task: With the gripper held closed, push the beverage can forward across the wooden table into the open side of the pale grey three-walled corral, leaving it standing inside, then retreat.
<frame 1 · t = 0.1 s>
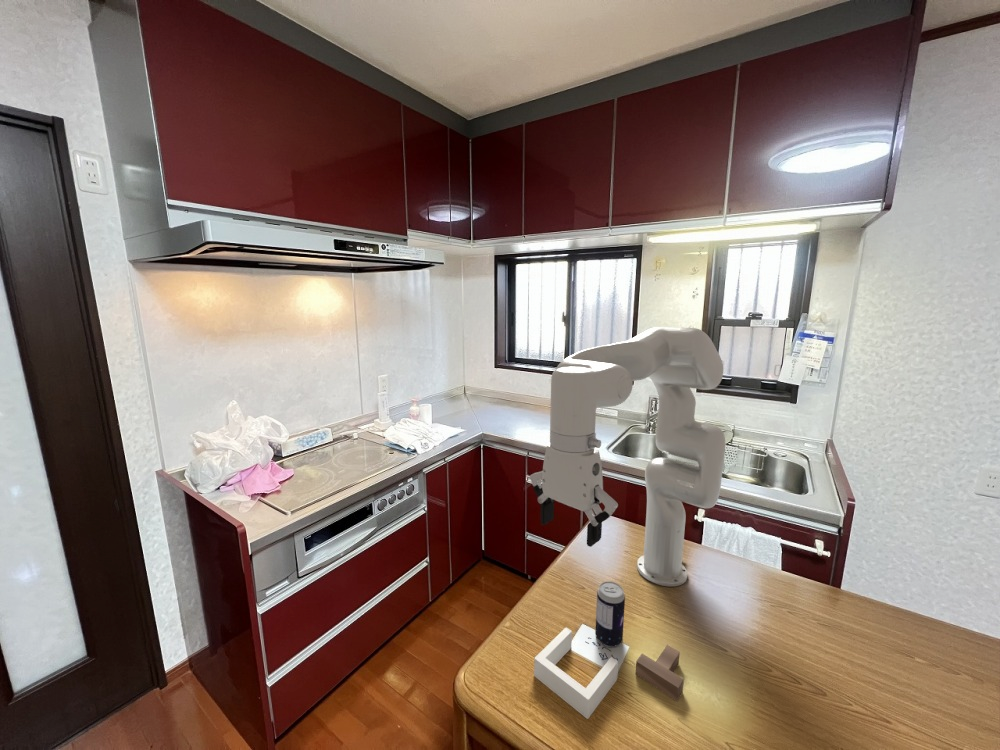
hand: (569, 532, 72), 31 cm above the table, fingers open, 9 cm apart
beverage can: (608, 639, 87), on the table
corral: (574, 678, 78), on the table
walnut T block: (664, 673, 79), on the table
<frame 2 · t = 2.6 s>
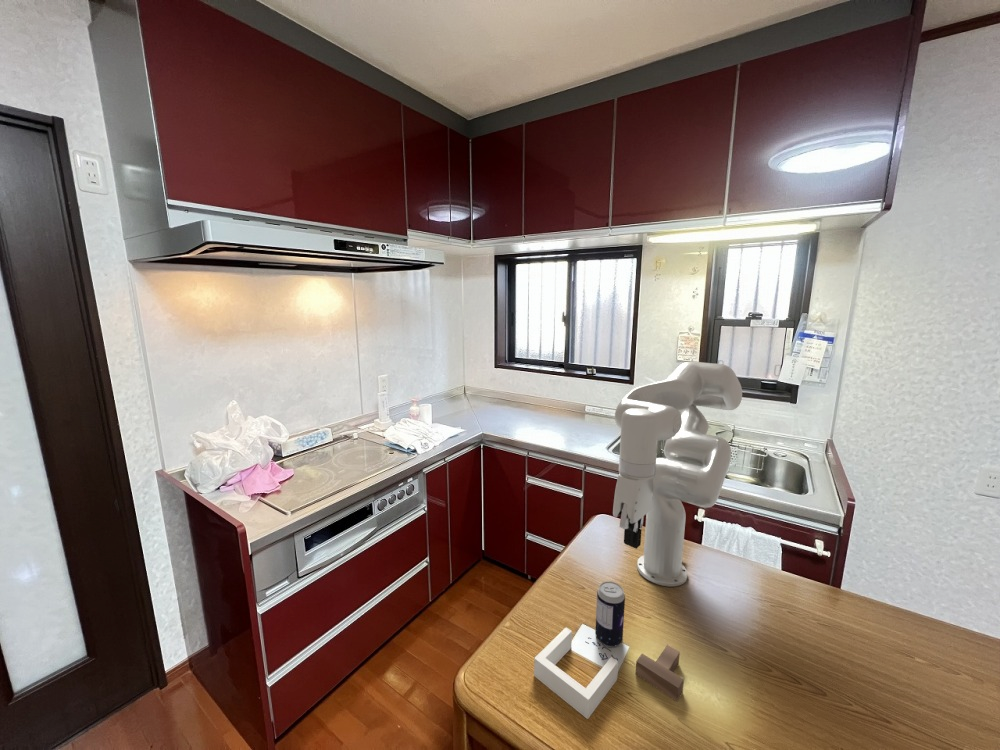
hand: (631, 544, 90), 18 cm above the table, fingers closed
nothing on the table moved.
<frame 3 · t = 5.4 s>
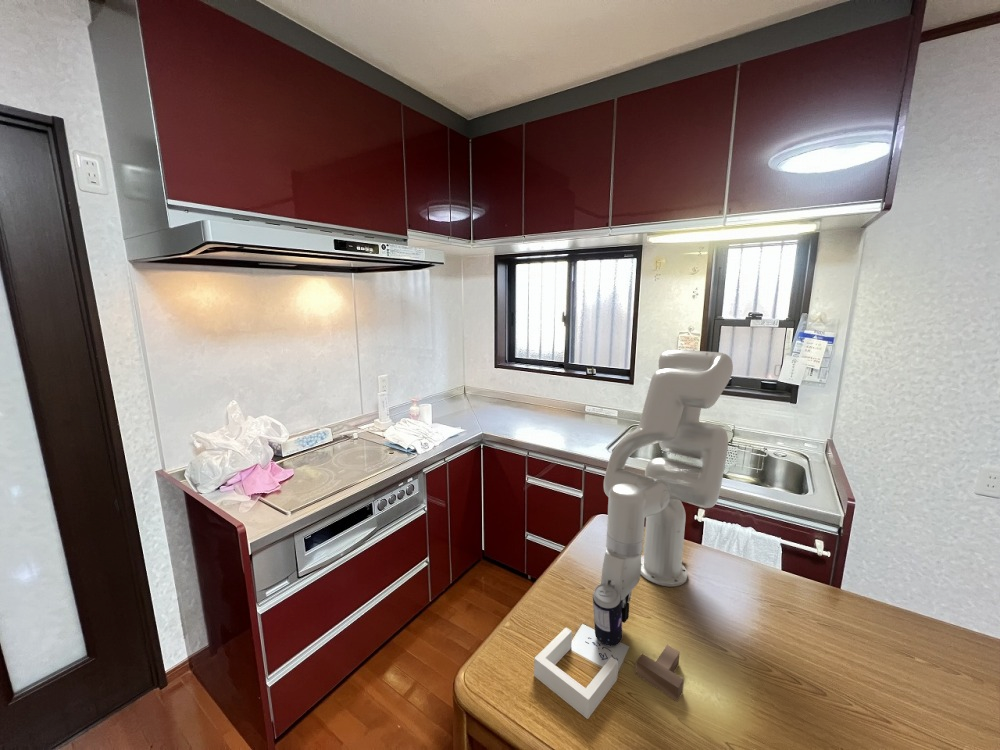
hand: (620, 617, 90), 2 cm above the table, fingers closed
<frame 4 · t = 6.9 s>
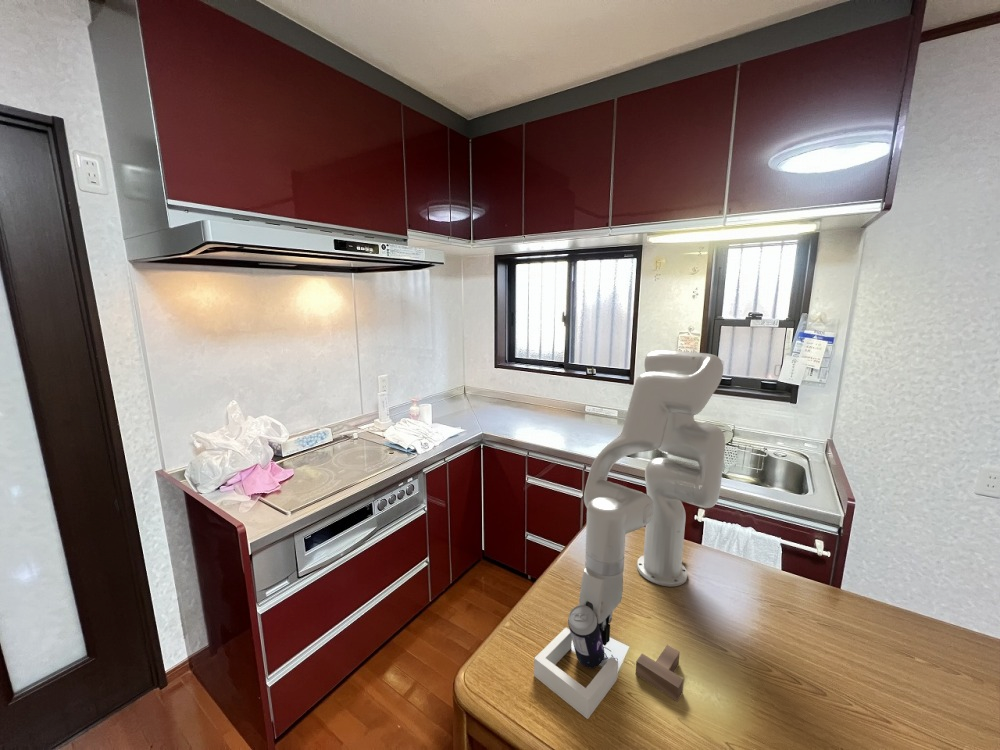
hand: (600, 639, 84), 2 cm above the table, fingers closed
beverage can: (590, 656, 82), point 1 cm above the table, touching gripper
everything else where it was.
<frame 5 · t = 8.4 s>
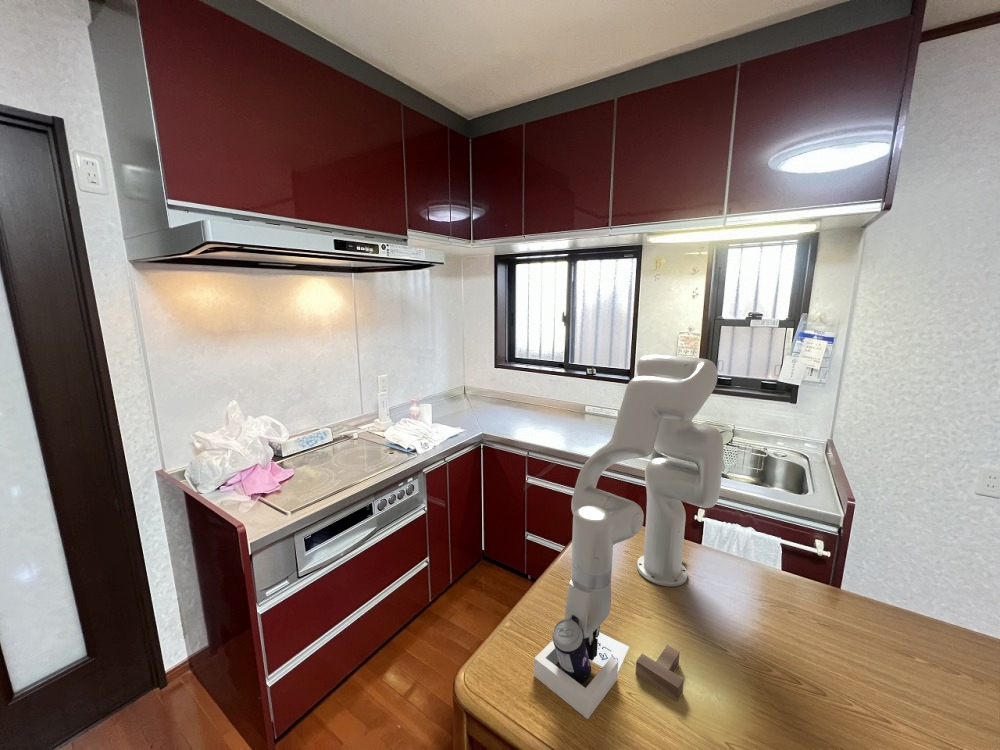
hand: (587, 654, 81), 2 cm above the table, fingers closed
beverage can: (577, 672, 78), point 1 cm above the table, touching gripper
everything else where it was.
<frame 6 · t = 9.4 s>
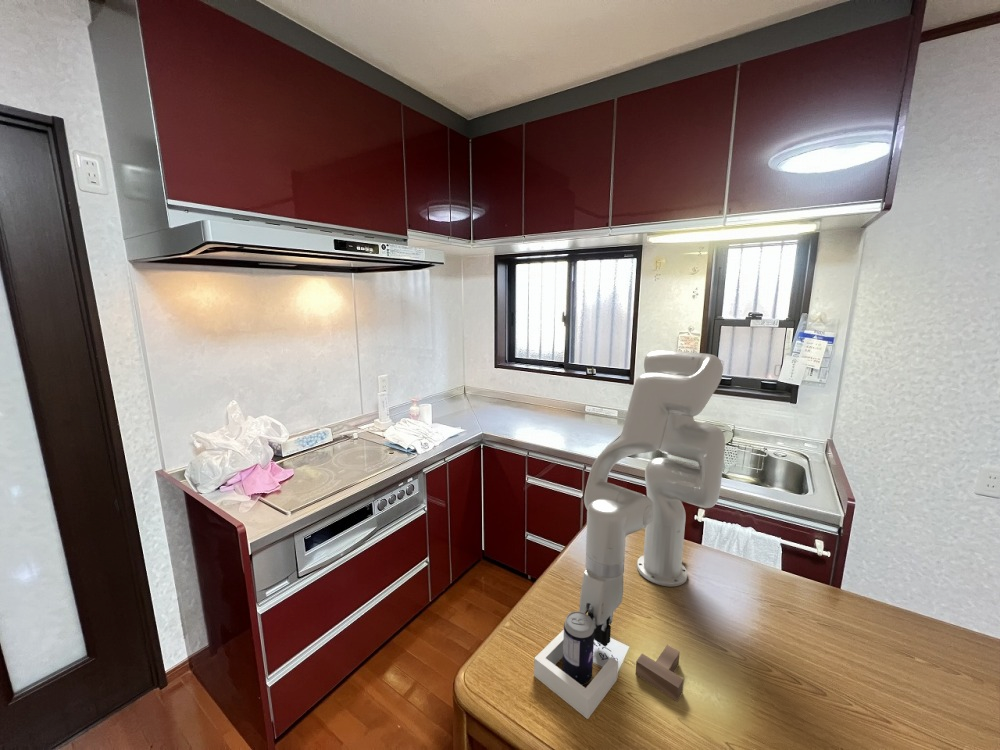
hand: (601, 640, 84), 2 cm above the table, fingers closed
beverage can: (577, 676, 78), on the table
everything else where it was.
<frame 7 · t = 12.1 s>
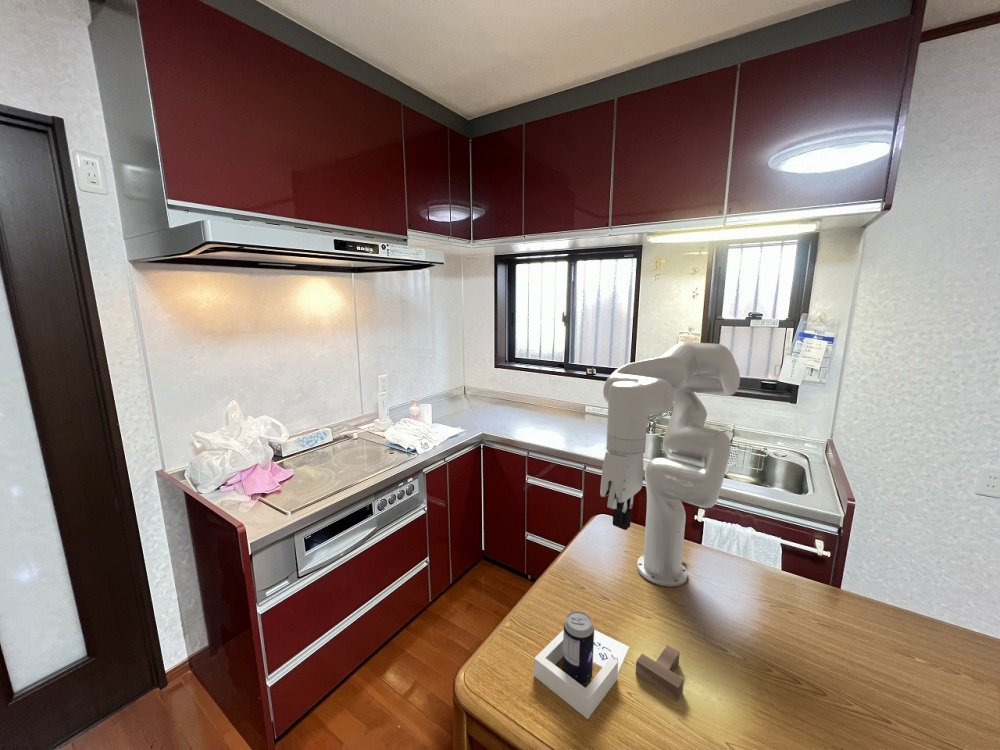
hand: (621, 526, 85), 25 cm above the table, fingers closed
nothing on the table moved.
at the end: beverage can inside the target area on the corral (0.4 cm from its centre), point 0.0 cm above the corral's base; beverage can tilted 0°; walnut T block moved 0.1 cm from its start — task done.
